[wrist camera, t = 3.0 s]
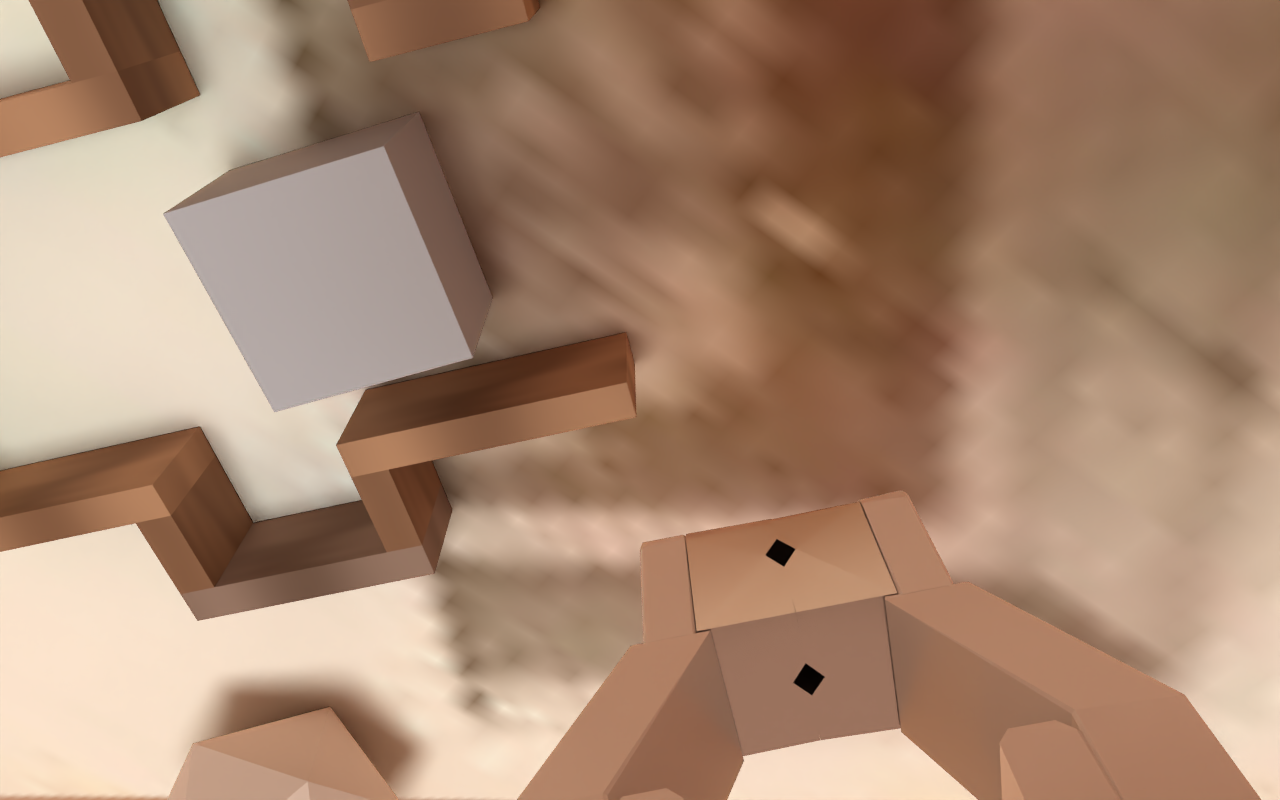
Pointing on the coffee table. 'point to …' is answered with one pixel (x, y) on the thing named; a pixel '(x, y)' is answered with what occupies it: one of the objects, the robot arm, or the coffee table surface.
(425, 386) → the box
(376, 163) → the block
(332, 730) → the die
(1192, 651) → the coffee table surface
